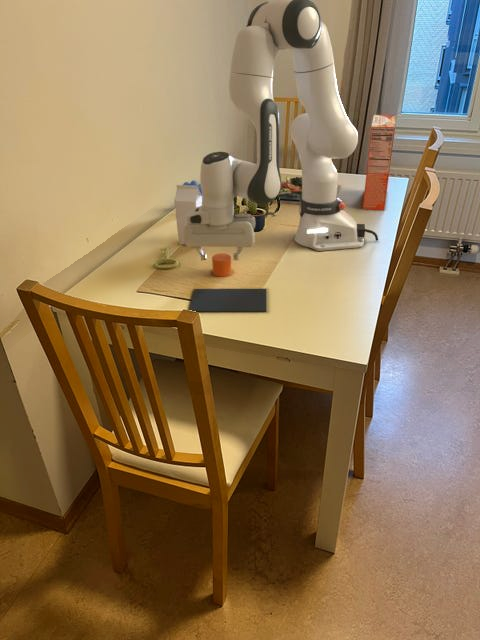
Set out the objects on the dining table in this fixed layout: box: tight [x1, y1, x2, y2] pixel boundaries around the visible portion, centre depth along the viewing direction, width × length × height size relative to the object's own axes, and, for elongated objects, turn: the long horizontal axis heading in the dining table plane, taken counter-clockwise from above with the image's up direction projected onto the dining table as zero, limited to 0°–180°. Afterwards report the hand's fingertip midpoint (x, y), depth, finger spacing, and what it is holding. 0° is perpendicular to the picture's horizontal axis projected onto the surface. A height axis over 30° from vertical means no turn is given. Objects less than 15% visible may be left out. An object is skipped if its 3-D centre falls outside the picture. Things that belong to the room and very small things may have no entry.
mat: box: [188, 288, 267, 313], centre depth 134 cm, size 20×12×1 cm, turn 88°
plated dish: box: [271, 175, 340, 205], centre depth 209 cm, size 35×28×7 cm
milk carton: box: [174, 184, 202, 245], centre depth 164 cm, size 7×7×19 cm
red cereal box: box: [362, 114, 396, 211], centre depth 192 cm, size 23×8×30 cm, turn 165°
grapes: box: [182, 179, 203, 199], centre depth 192 cm, size 12×7×12 cm, turn 73°
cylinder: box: [211, 252, 232, 278], centre depth 147 cm, size 6×6×5 cm
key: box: [153, 246, 179, 270], centre depth 155 cm, size 7×12×2 cm, turn 23°
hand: (219, 259), depth 146 cm, fingers open, 8 cm apart
